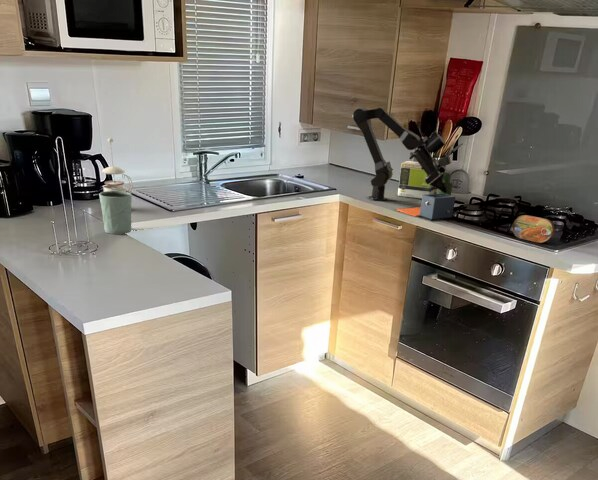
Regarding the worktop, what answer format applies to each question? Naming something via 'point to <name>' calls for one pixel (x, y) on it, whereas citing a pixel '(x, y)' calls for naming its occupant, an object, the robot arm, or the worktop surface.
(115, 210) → the green cup
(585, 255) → the worktop surface
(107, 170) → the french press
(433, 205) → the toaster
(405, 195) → the tea box
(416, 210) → the mat
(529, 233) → the tin
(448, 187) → the bottle
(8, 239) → the worktop surface
